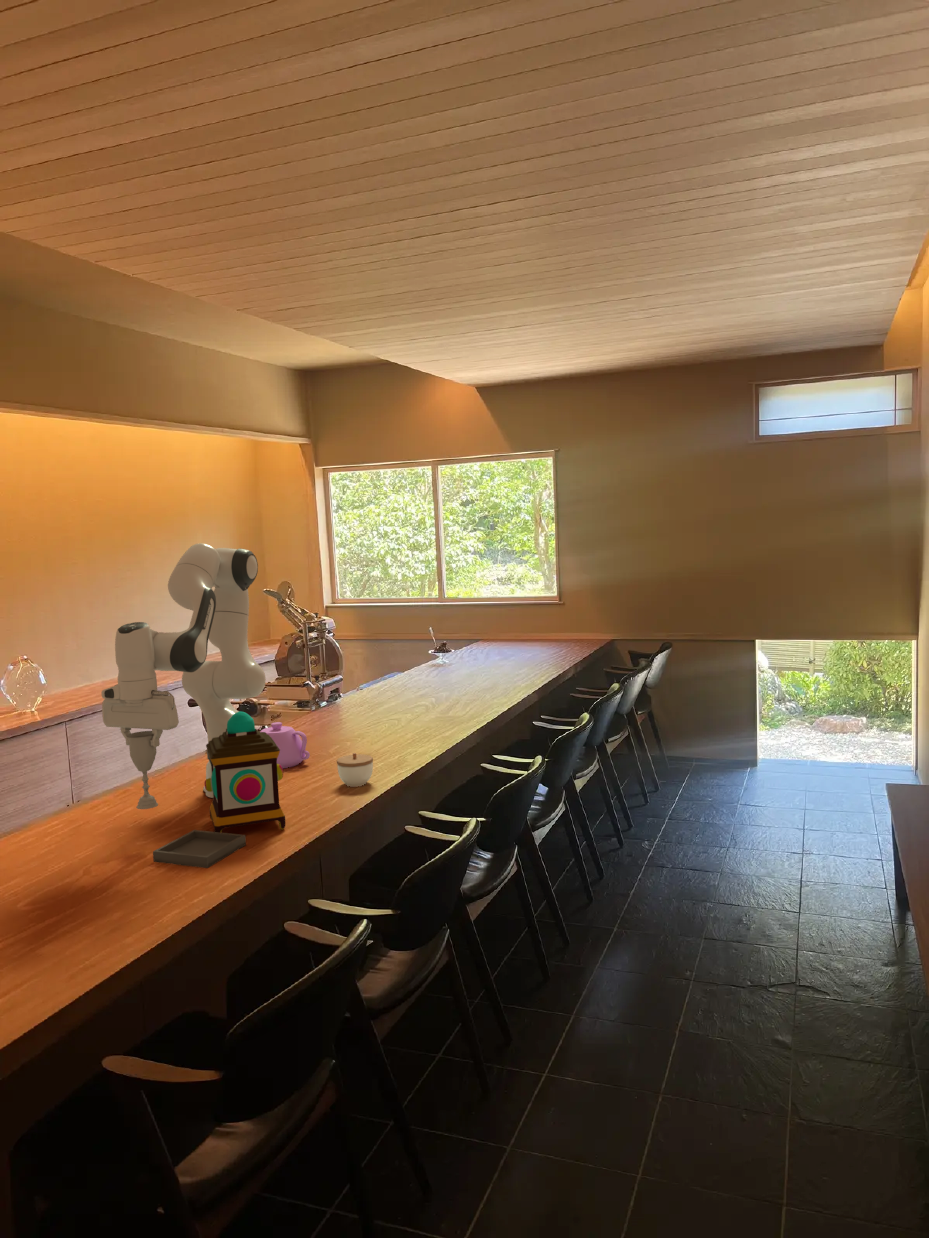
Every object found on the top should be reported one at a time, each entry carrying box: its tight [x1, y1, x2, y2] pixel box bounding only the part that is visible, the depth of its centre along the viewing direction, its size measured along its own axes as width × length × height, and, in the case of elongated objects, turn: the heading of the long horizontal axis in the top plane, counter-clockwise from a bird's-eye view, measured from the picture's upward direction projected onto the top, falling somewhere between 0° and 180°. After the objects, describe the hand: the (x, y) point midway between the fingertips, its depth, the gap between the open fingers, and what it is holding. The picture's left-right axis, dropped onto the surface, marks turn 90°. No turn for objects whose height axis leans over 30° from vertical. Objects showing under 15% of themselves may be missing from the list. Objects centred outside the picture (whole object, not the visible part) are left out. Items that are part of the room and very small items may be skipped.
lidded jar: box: [336, 752, 374, 788], centre depth 257 cm, size 11×11×9 cm
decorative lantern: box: [204, 710, 286, 833], centre depth 222 cm, size 20×20×30 cm
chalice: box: [126, 730, 159, 810], centre depth 211 cm, size 7×7×18 cm
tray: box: [152, 829, 247, 869], centre depth 204 cm, size 15×15×2 cm
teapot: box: [259, 721, 311, 770], centre depth 285 cm, size 25×18×14 cm
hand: (142, 745), depth 210 cm, fingers closed on chalice, 6 cm apart
